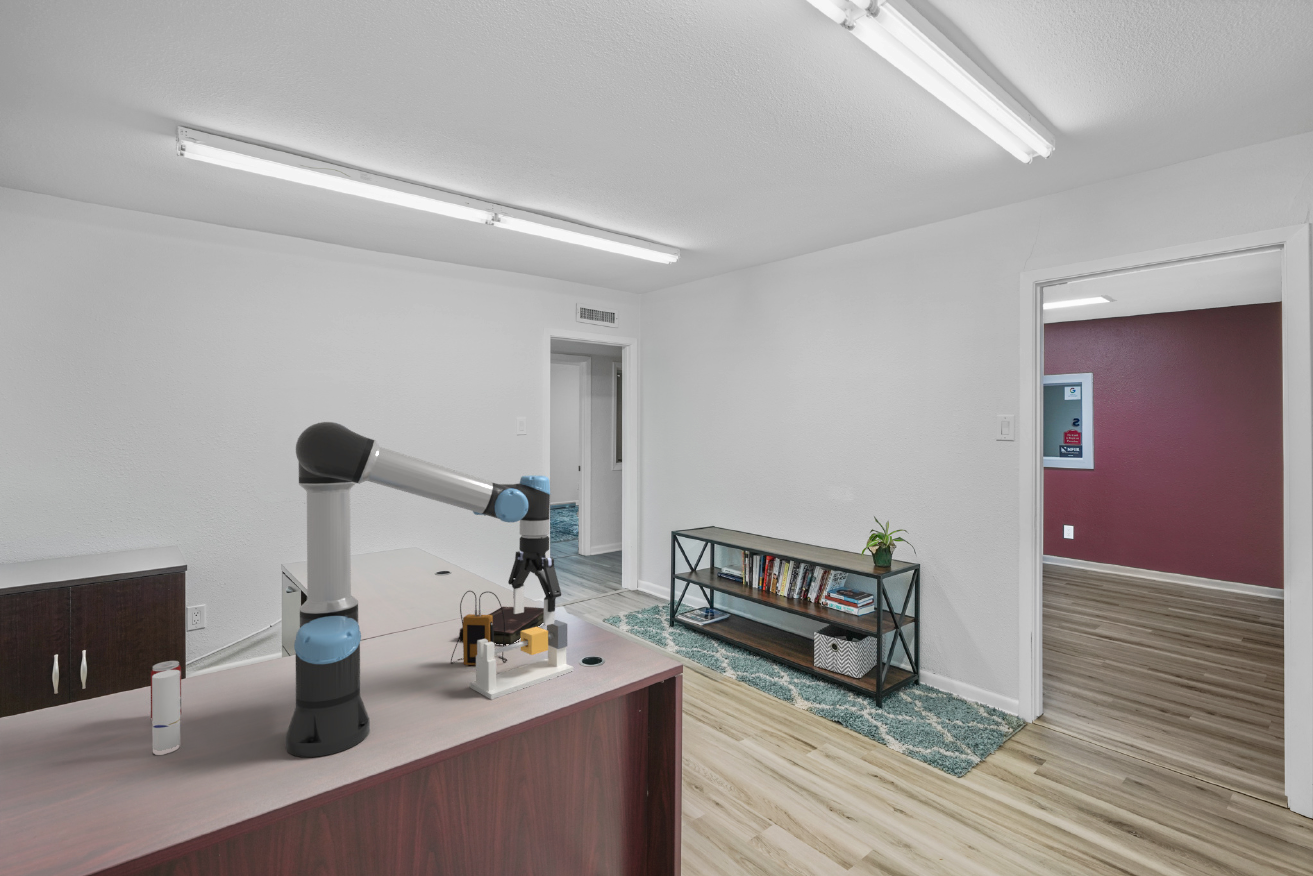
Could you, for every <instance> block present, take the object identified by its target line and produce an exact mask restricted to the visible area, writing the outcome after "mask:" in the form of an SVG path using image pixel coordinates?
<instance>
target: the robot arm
mask: <svg viewBox="0 0 1313 876" xmlns="http://www.w3.org/2000/svg"><path fill="white" fill-rule="evenodd" d="M295 455H296V458H297V462H298V485H299V486H300V487H301V488H302V489H304V490H305V492H306V562H307V563H306V573H307V574H306V575H307V577H306V578H307V579H306V581H307V582H306V583H307V591H306V592H307V593H306V594H307V599H306V601H304V603H303V604H301V606H300V607H299V629H298V630H297V632H296V635H295V640H294V645H293V646H294V651H295V707H294V711H293V714H292V717H291V720H290V723H289V726H288V728H287V732H286V735H285V750H286V752H288V753H289V754H291V755H292V756H295V757H303V758H312V757H313V758H315V757H323V756H328V755H333V754H337V753H340V752H343V751H346V750H349V749H350V748H352V747H354V746H356V745H358V744H360V743H361V742H363V741H364V740H366V738H367V737H368V735H369V734H370V730H371V729H370V717H369V715H368V712H367V709H366V707H365V703H364V702H363V699H362V696H361V640H362V633H361V630H360V624H359V601H358V599H357V598H355V597H354V596H353V595H352V591H351V590H352V587H351V586H352V582H351V579H352V572H351V571H352V569H351V562H352V561H351V489H352V488H353V487H354V486H355V485H356V484H359V485H360V484H362V483H364V482H370V483H373V484H377V485H381V486H384V487H387V488H390V489H395V490H398V491H402V492H404V493H408V494H412V495H416V496H419V497H423V498H425V499H429V500H433V501H436V502H439V503H443V504H447V505H449V506H452V507H453V506H454V507H457V508H460V509H461V508H462V509H465V510H468V511H471V512H472V513H473V514H474V515H476V516H488V517H490V518H495V519H498V520H500V521H501V522H505V523H517V522H519V535H520V537H519V549H518V550H519V551H518V550H517V551H515V557H514V563H513V565H512V569H511V572H510V574H509V578H508V580H507V581H508V584H509V585H511V587H512V589H513V607H514V614H518V613H523V612H524V607H525V587H524V586H525V585H524V584H525V582H526V580H527V579H528V577H529V575H530V574H531V573H532V574H533V575H535V577H537V578H538V581H539V584H540V586H541V589H542V591H543V593H544V595H545V597H544V598H543V608H544V625H543V626H546V627H547V625H550V624H554V620H555V611H556V598H560V597H561V596H562V591H561V588H560V587H561V586H560V584H559V583H560V582H559V580H558V576H557V572H556V568H555V559H554V557H552V556H551V557H547V556H546V554H547V552H548V551H549V550H550V537H549V534H550V508H551V507H550V506H551V485H550V479H549V477H548V476H546V475H537V474H536V475H522V476H520V481H519V482H518V483H514V484H513V483H509V484H508V483H506V484H504V483H502V484H501V483H500V484H499V483H495V482H492V481H490V480H486V479H484V478H479V477H477V476H473V475H470V474H467V473H464V472H461V471H458V470H455V469H451V468H448V467H445V466H443V465H439V464H436V463H433V462H430V461H426V460H423V459H419V458H416V457H414V456H411V455H407V454H404V453H400V452H398V451H394V450H392V449H391V450H390V449H388V448H385V447H382V446H380V445H379V443H378V442H377V440H376V439H372V438H369V437H366V436H364V435H361V434H359V433H356V432H354V431H352V430H351V429H349V428H348V427H346V426H345V425H342V424H340V423H337V422H332V421H321V422H318V423H315V424H312V425H310V426H308V427H307V428H305V429H304V430H303V431H302V432H301V433H300V435H299V437H298V438H297V441H296V444H295Z"/></svg>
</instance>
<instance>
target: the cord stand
mask: <svg viewBox="0 0 1313 876" xmlns="http://www.w3.org/2000/svg"><path fill="white" fill-rule="evenodd" d="M546 630H547V631H548V650H547V658H545V659H541V660H538V661H535V662H531V663H529V664H525V665H521V666H519V667H515V668H513V669H509V670H506V671H503V672H499V673H497V659H496V658H495V656H496V655H498V654H502V652H503V653H505V652H508V651H512V650H514V649H518V648H521V647H522V646H526V645H528V640H526V641H522V642H521V641H520V642H518V643H515V644H511V645H508V646H504V647H503V646H501V647H498V648H495V647H496V645H495V643H493V642H488V640H487V639H482V640H478V641H477V655H476V665H475V680H473V681H471V682H469V688H471V689H472V690H474V691H475V692H477V693H479V694H481V695H483V696H484V697H486V698H487V699H489V700H494V699H497V698H499V697H503V696H506V695H509V694H511V693H514V692H518V691H520V690H523V688H524V689H527V688H529V686H530V687H532V686H535V685H539V684H541V683H544V682H546V681H550V680H552V679H556V678H558V677H557V676H559V677H561V675H562V676H564V675H563V674H565V675H567V674H566V673H568V672H571V671H573V672H574V666H572V665H570V664H568V663H567V647H568V623H566V622H564V621H561V620H558V619H554V624H550V625H546ZM495 654H496V655H495ZM571 673H572V672H571ZM568 674H569V673H568ZM549 679H550V680H549ZM526 687H527V688H526ZM517 690H518V691H517Z"/></svg>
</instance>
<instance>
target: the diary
mask: <svg viewBox="0 0 1313 876" xmlns="http://www.w3.org/2000/svg"><path fill="white" fill-rule="evenodd" d="M502 610H503V614H504V620H503V614H502ZM502 610H501V607H499V608H498V609H496V610H494V611H492V612H491V613H488V614H487V615H492V616H493V630H494V643H496V644H503V637H504V621H505V637H504V645H506V644H509V645H511V644H515V643H514V642H516V641H517V640H519V639H520V638H521V631H522V630H526V629H530V628H534V627H538V626H540V625H541V624H542V623H544V607H536V606H535V607H532V606H524V612H523V613H518V614H514V606H502ZM461 631H462V627H461V628H460V629H459V633H458V637H459V636H460V633H461ZM462 640H463V631H462V633H461V636H460V639H459V642H460V641H462ZM462 642H463V641H462ZM516 643H517V642H516ZM518 643H519V641H518Z"/></svg>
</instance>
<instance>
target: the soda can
mask: <svg viewBox="0 0 1313 876" xmlns="http://www.w3.org/2000/svg"><path fill="white" fill-rule="evenodd" d="M168 670H179V671H180V712H181V713H182V667H181V665H180V662H179V661H178V660H169V661H162V662H159V663H156V664H154V665H152V670H151V671H150V719H151V718H152V676H153V675H154V674H156V673H159V672H163V671H168Z"/></svg>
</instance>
